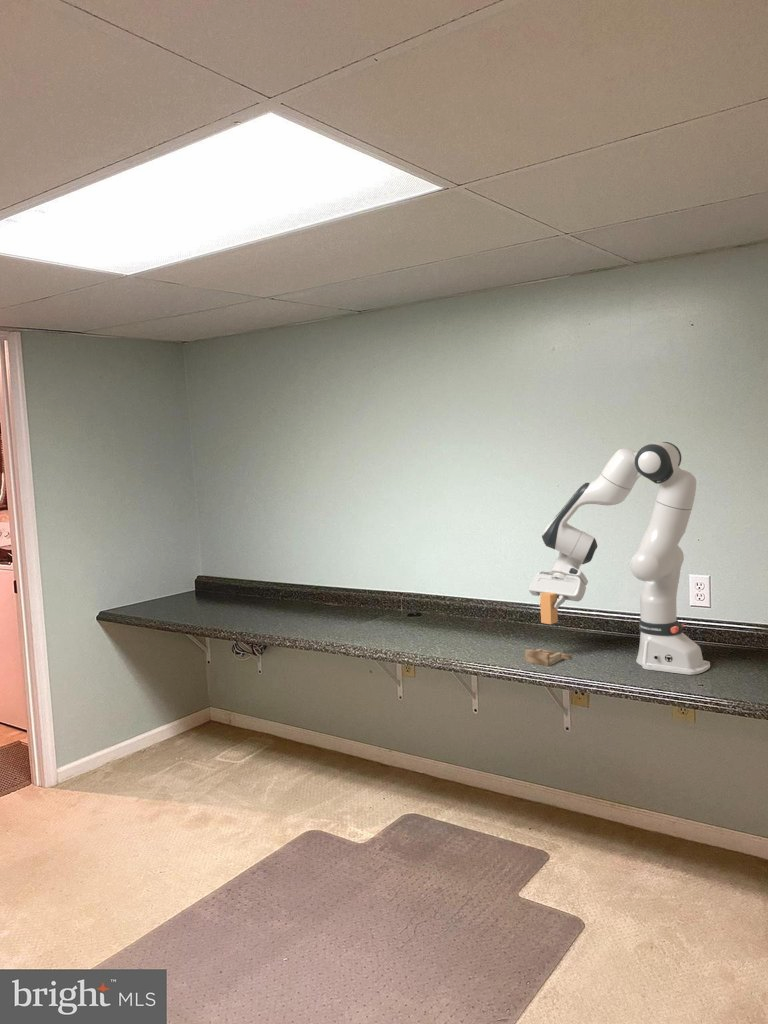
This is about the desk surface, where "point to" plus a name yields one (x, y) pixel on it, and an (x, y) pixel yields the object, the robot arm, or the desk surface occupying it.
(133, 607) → the desk surface
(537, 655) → the index bracket
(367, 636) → the desk surface
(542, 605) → the block
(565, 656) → the door edge strip
